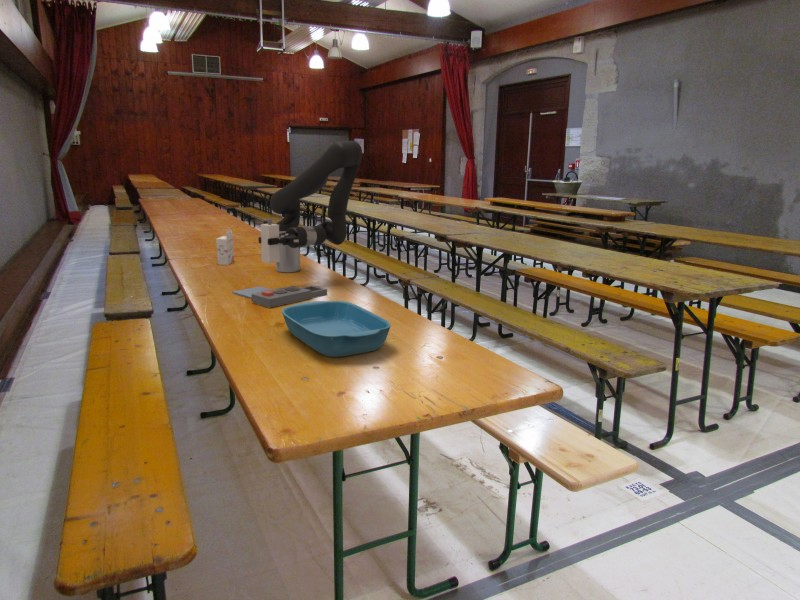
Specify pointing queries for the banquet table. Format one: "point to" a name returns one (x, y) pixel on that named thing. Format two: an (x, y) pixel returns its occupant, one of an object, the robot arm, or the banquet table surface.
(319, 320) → the casserole dish
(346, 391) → the banquet table surface
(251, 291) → the rubber mat
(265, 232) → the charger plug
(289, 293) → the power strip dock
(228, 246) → the ink cartridge box
